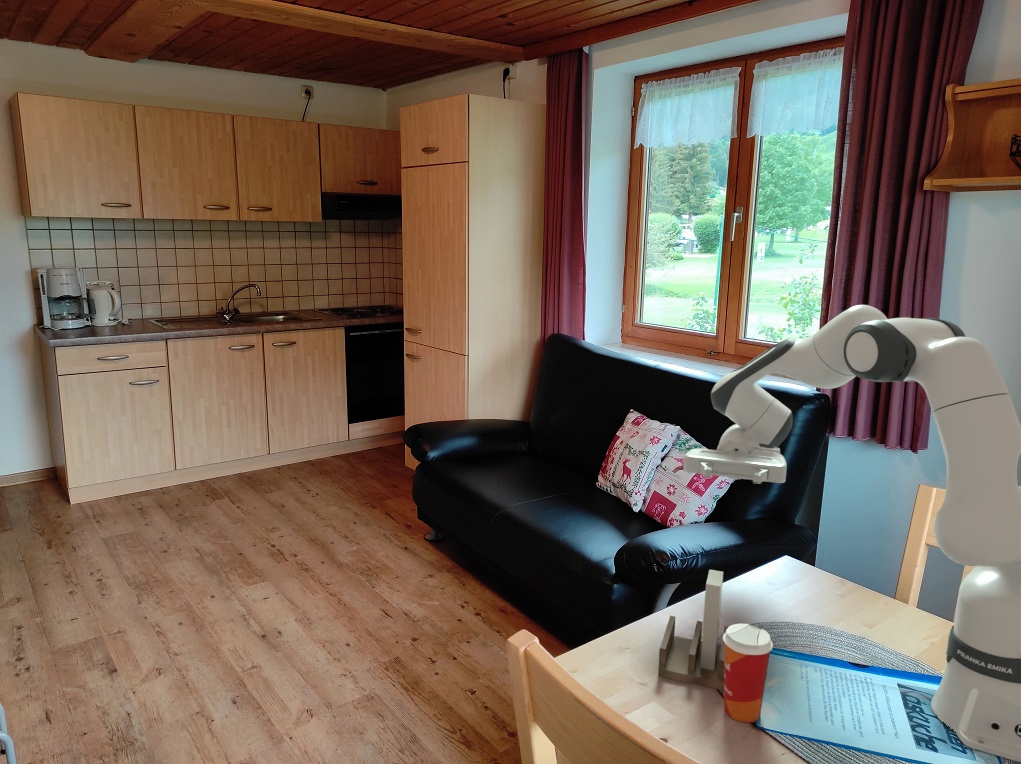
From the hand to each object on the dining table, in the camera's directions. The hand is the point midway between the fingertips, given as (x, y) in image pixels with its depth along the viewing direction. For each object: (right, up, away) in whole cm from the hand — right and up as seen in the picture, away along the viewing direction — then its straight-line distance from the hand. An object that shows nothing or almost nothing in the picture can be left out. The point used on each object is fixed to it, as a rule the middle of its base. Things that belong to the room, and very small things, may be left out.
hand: (731, 476), depth 148 cm
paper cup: (-6, -36, -25) cm, 44 cm away
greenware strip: (-8, -31, -13) cm, 35 cm away
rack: (-8, -33, -13) cm, 36 cm away
